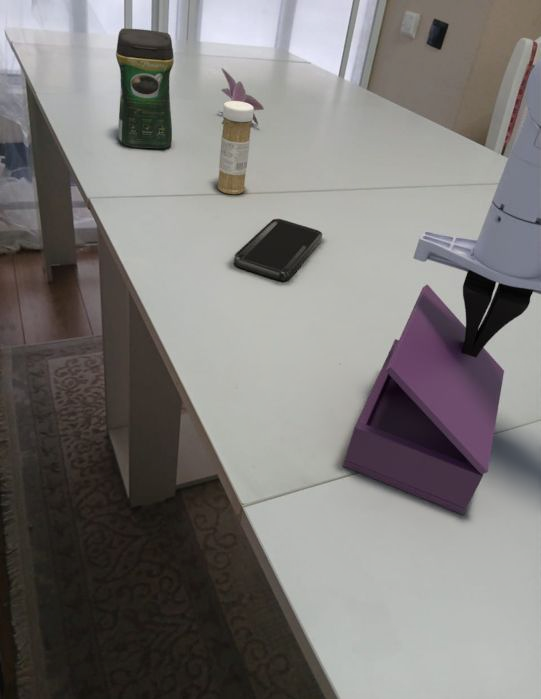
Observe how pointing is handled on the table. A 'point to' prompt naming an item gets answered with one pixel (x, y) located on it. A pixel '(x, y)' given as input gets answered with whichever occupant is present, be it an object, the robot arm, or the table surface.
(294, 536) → the table surface
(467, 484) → the box
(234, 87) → the lily
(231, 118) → the sprinkles bottle
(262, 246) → the phone
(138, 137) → the coffee jar
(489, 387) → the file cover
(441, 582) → the table surface
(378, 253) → the table surface
